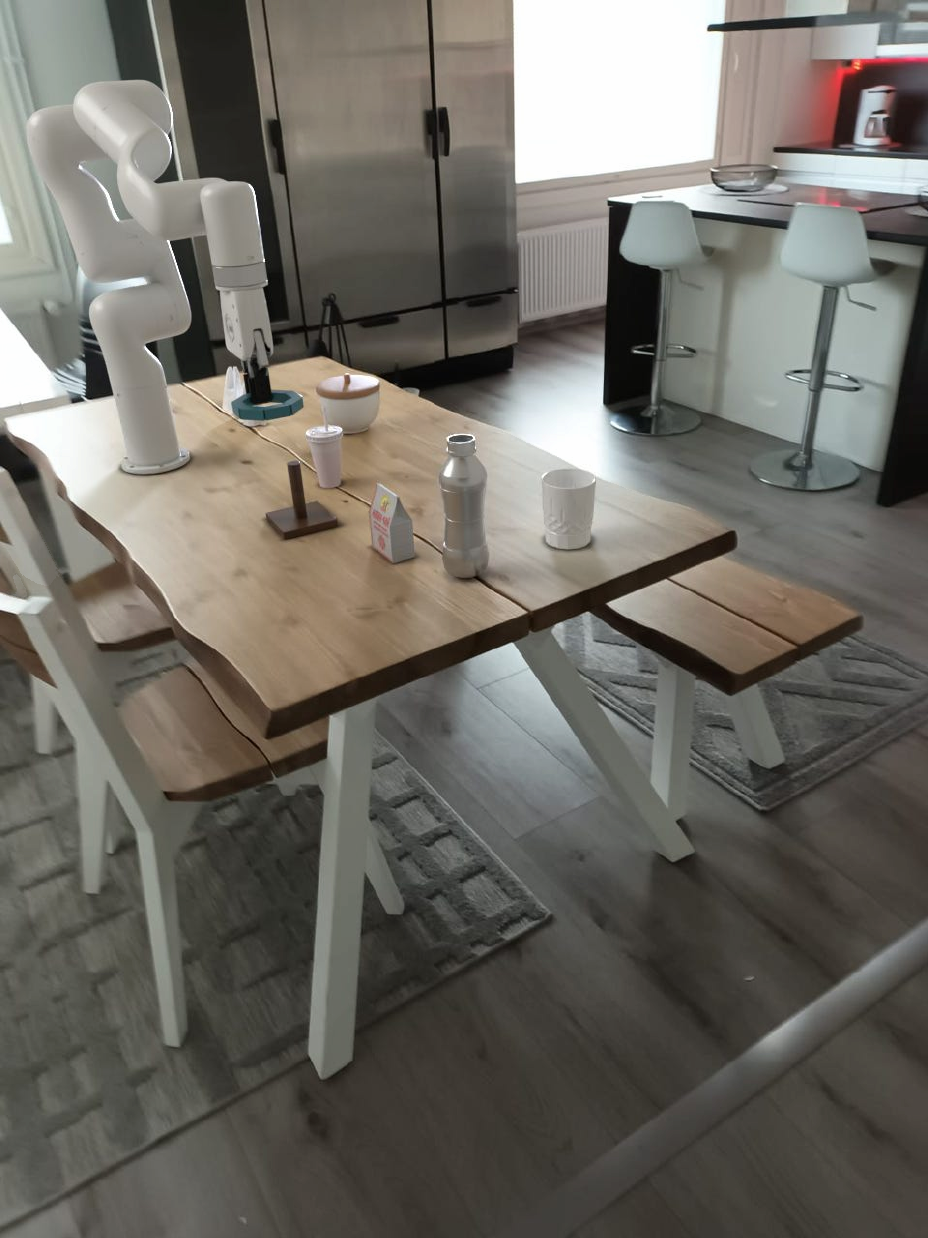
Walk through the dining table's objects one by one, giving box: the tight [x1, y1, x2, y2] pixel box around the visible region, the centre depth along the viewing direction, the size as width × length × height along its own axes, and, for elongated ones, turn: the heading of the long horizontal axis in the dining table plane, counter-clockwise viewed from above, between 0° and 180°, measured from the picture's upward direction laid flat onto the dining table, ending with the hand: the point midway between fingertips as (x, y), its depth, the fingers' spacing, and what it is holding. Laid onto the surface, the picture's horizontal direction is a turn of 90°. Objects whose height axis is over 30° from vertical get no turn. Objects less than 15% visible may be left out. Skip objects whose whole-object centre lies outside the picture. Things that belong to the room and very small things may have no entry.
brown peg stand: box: [265, 460, 339, 540], centre depth 150 cm, size 9×9×10 cm
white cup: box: [541, 468, 597, 550], centre depth 141 cm, size 8×8×10 cm
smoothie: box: [305, 406, 344, 489], centre depth 163 cm, size 6×6×14 cm
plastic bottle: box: [438, 433, 490, 579], centre depth 130 cm, size 6×7×20 cm
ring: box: [231, 389, 305, 422], centre depth 143 cm, size 10×10×2 cm
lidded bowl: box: [315, 372, 381, 435], centre depth 190 cm, size 13×13×11 cm
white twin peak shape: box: [221, 365, 267, 427], centre depth 197 cm, size 12×4×11 cm, turn 40°
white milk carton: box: [368, 482, 416, 564], centre depth 140 cm, size 4×7×10 cm, turn 31°
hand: (259, 399), depth 146 cm, fingers closed on ring, 1 cm apart
